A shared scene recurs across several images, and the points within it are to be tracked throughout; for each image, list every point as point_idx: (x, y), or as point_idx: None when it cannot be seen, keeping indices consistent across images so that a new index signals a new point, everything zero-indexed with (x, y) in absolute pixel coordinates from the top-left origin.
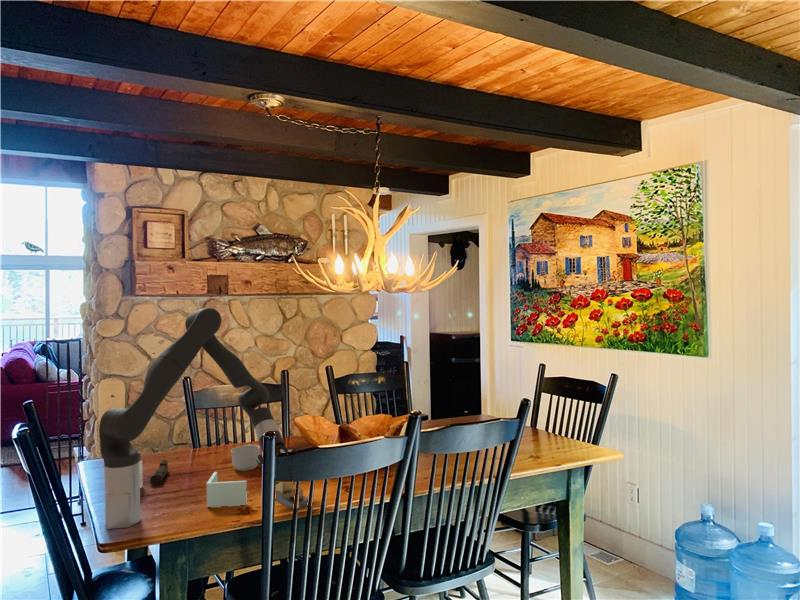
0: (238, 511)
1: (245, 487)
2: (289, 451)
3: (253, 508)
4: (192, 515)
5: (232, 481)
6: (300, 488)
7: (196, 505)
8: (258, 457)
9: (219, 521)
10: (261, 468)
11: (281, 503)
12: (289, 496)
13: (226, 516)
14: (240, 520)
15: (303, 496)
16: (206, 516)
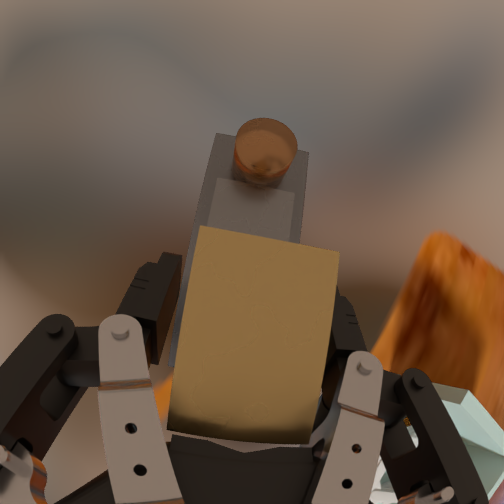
0: (438, 331)
1: (447, 386)
2: (23, 500)
3: (395, 318)
4: (500, 392)
5: (488, 429)
6: (239, 149)
7: None
8: (482, 494)
9: (490, 292)
10: (412, 445)
11: None
12: (285, 204)
13: (471, 315)
14: (460, 247)
15: (209, 181)
16: (492, 359)
